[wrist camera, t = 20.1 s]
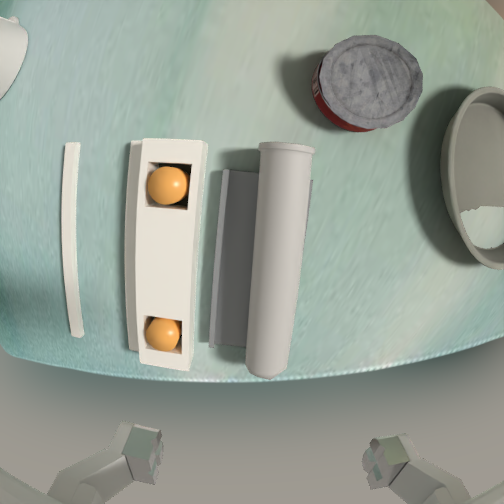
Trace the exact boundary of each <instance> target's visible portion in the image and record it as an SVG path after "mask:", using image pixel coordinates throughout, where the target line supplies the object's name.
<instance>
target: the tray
mask: <svg viewBox="0 0 504 504" xmlns="http://www.w3.org/2000/svg"><path fill="white" fill-rule="evenodd" d="M258 183H259V173H254V172H245V171H235V170H227V169H223V176H222V186H221V195H220V205H219V216H218V226H217V237H216V249H215V261H214V273H213V287H212V301H211V316H210V332H209V347H210V348H214V344H222V345H231V346H241V347H246V344H247V330H248V317H249V304H250V290H251V277H252V264H253V250H254V237H255V223H256V210H257V196H258ZM312 184H313V180H310V187H309V198H308V209H307V219H306V229H307V222H308V214H309V207H310V200H311V192H312ZM306 229H305V236H306ZM304 242H305V238H304ZM303 249H304V247H303Z"/></svg>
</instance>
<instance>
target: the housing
mask: <svg viewBox="0 0 504 504" xmlns="http://www.w3.org/2000/svg"><path fill="white" fill-rule="evenodd" d="M80 145H81V143H77V142H71V143H66V146H65V156H64V168H63V183H62V254H63V270H64V281H65V291H66V300H67V308H68V315H69V322H70V328H71V334H72V336H74V337H78V338H81V337H82V336H83V335H84V328H83V321H82V313H81V304H80V295H79V284H78V270H77V250H76V198H77V179H78V165H79V154H80ZM207 151H208V144H207V143H205V142H204V141H202V140H184V139H154V138H143V141H131V149H130V158H129V169H128V180H127V195H126V214H125V295H126V314H127V329H128V341H129V350H133V351H138V352H139V357H140V363H143V364H148V365H154V366H159V367H165V368H170V369H177V370H183V371H189V369H190V365H191V362H192V359H193V355H194V323H195V299H196V280H197V263H198V248H199V235H200V222H201V211H202V200H203V189H204V179H205V169H206V160H207ZM159 163H164V164H182V165H192V168H191V178H190V188H189V199H188V206H180V205H163V204H155V202H156V201H154V200H153V199H152V197H151V196H150V194H149V191H148V181H149V178H150V176H151V175H152V173H153V172H154V171H155V170H157V169H158V166H159ZM153 316H154V317H160V318H167V319H173V320H180V321H182V338H179V340H178V342H177V344H176V346H175V348H174V349H172V350H170V351H159V350H156V349H155V348H153V347H152V346H151V345H150V344H149V343H148V341H147V338H146V331H147V329H148V327H149V326H150V324H151V322H152V321H153Z"/></svg>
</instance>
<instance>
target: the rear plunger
mask: <svg viewBox="0 0 504 504" xmlns="http://www.w3.org/2000/svg"><path fill="white" fill-rule="evenodd" d="M181 333H182V321H180V320H173V319H167V318H160V317H155V318H154V319H153V321H152V322H151V324H150V326H149V327H148V329H147V331H146V338H147V341H148V343H149V344H150V345H151V346H152V347H153V348H155V349H156V350H159V351H170V350H172V349H174V348H175V346H176V344H177V342H178V340H179V337H180V335H181Z"/></svg>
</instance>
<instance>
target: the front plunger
mask: <svg viewBox="0 0 504 504" xmlns="http://www.w3.org/2000/svg"><path fill="white" fill-rule="evenodd" d="M189 188H190V176H189V174H188V173H187V172H186V171H185V170H183V169H180V168H175V167H161V168H159V169H157V170H155V171H154V172H153V173H152V175H151V176H150V178H149V181H148V191H149V194H150V196H151V197H152V199H153V200H154V201H156V202H157V203H159V204H163V205H168V204H172V203H175V202H178V201H181V200H183V199H185V198H186V197H187V196H188V194H189Z"/></svg>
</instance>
